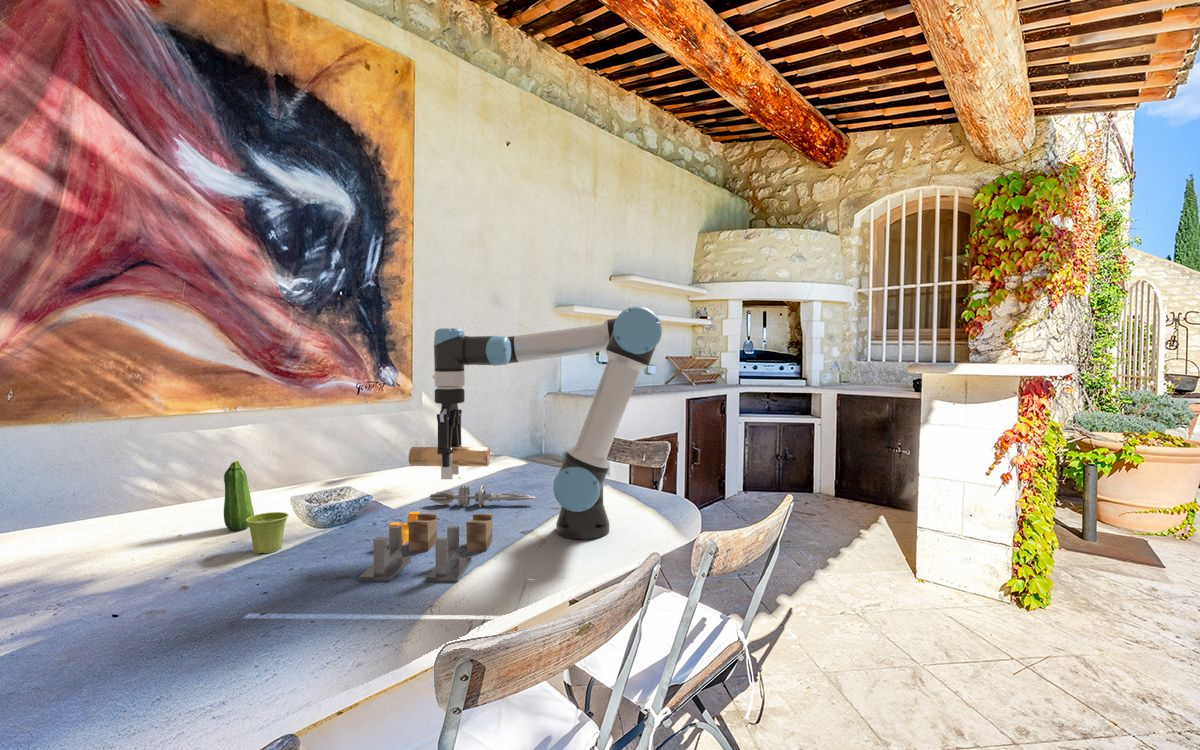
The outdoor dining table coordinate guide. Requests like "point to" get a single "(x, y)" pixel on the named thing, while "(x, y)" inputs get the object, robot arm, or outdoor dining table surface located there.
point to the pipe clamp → (405, 526)
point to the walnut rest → (426, 532)
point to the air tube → (459, 456)
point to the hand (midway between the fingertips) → (450, 476)
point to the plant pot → (267, 531)
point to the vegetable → (236, 498)
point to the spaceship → (465, 496)
